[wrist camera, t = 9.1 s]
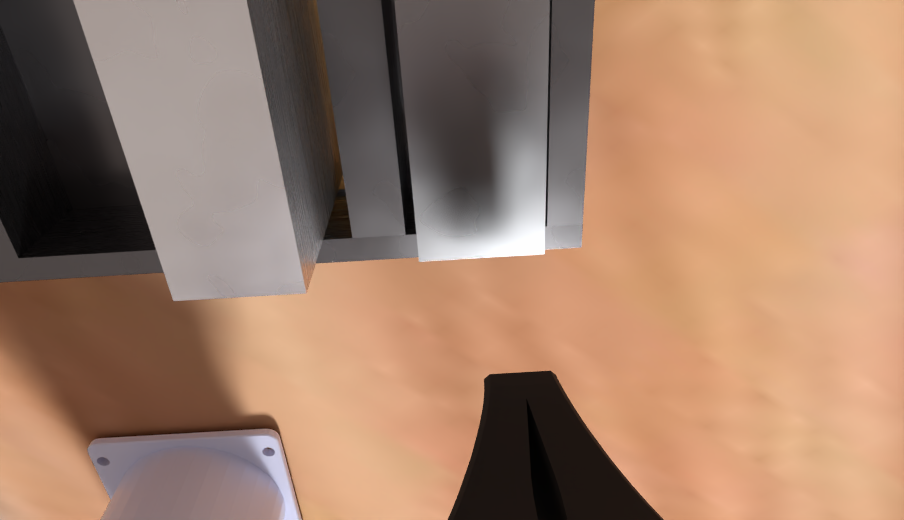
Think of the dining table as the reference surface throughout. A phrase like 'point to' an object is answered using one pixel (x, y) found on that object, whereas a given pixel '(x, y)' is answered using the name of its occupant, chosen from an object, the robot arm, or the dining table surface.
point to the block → (223, 136)
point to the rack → (357, 126)
